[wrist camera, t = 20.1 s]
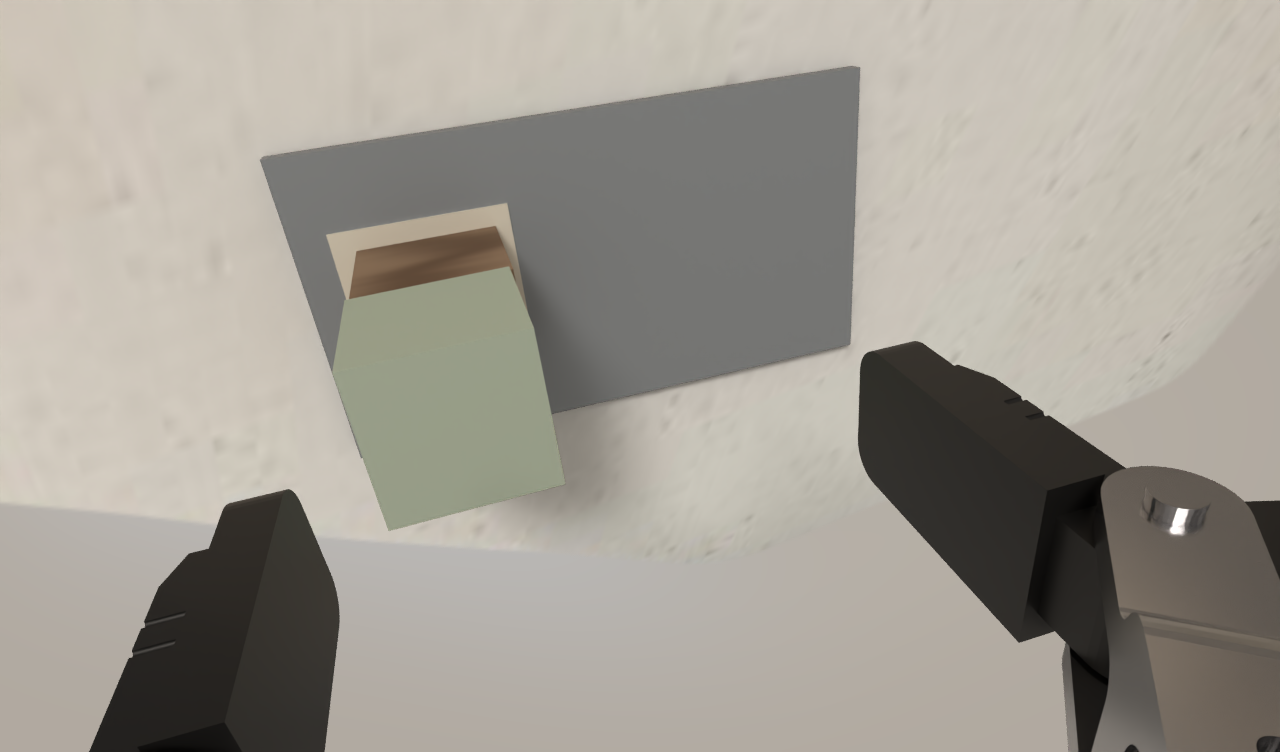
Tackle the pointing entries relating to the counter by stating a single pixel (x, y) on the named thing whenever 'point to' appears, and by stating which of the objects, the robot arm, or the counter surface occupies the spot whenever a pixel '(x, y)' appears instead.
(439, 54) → the counter surface
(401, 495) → the sage block
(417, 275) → the walnut block
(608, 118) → the build mat
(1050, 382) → the counter surface
